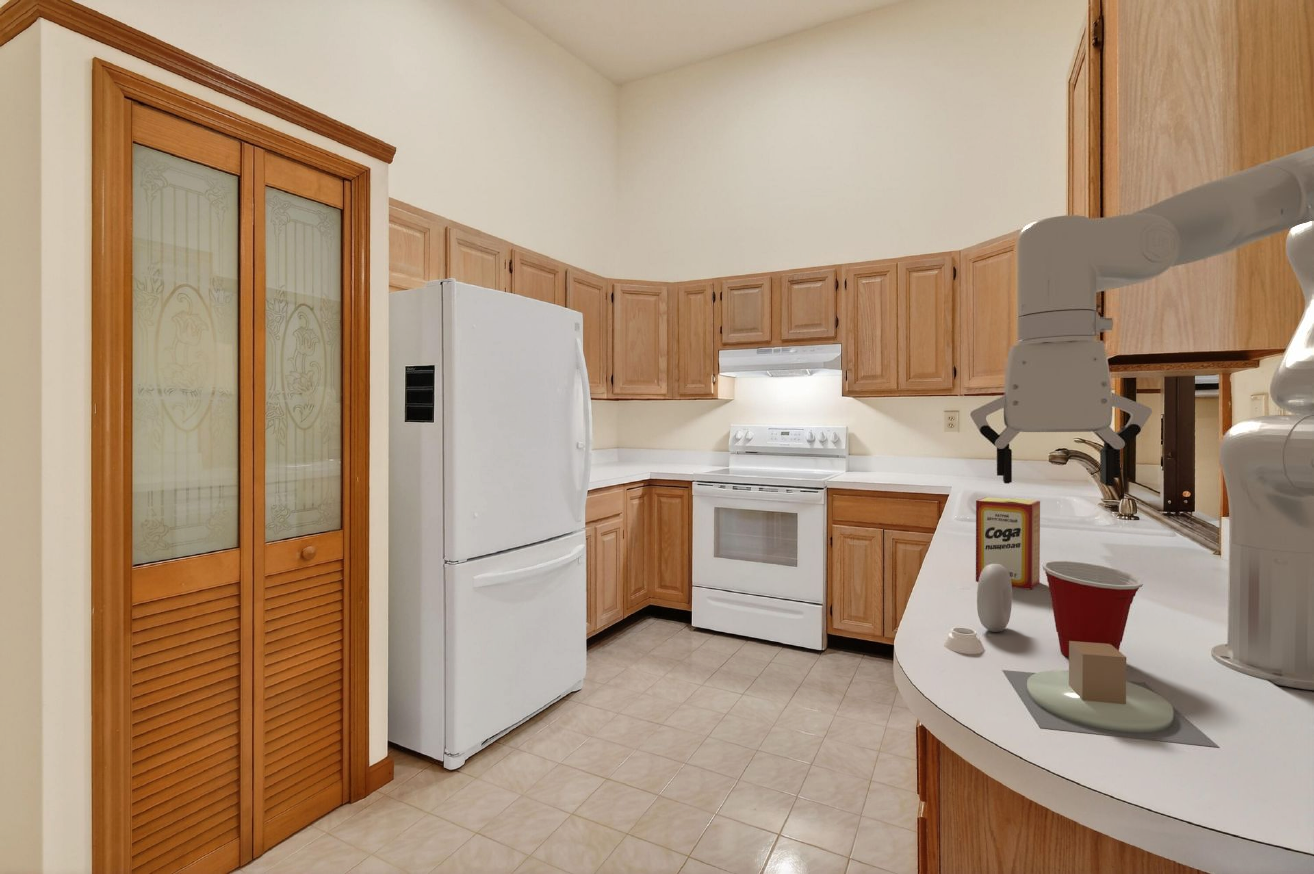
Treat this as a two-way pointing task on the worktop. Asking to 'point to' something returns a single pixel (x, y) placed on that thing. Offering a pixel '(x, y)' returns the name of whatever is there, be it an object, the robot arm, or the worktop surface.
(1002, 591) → the donut
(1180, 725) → the mat
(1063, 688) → the lid
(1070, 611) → the plastic cup
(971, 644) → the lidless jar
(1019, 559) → the baking soda box
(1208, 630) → the worktop surface
